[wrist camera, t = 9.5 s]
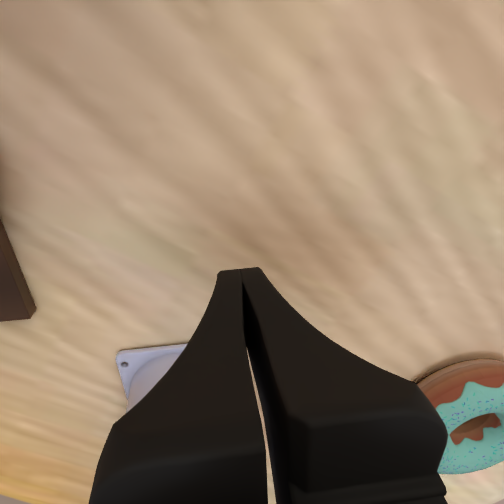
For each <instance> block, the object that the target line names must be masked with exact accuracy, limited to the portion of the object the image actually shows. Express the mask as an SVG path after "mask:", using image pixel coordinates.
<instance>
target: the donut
mask: <svg viewBox="0 0 504 504" xmlns="http://www.w3.org/2000/svg"><path fill="white" fill-rule="evenodd" d="M417 385H418V387H419V388H420V389H421V391H422V392H423V393H424V394H425V396H426V397H427V398H428V399H429V401H430V402H431V403H432V405H433V406H434V408H435V409H436V411H437V412H438V414H439V415H440V417H441V419H442V420H443V422H444V424H445V425H446V429H447V432H448V439H447V445H446V448H445V451H444V454H443V456H442V459H441V462H440V465H439V468H438V471H437V472H438V473H439V474H463V473H470V472H474V471H478V470H482V469H486V468H488V467H491V466H493V465H495V464H497V463H499V462H501V461H504V362H503V361H498V360H493V359H475V360H468V361H463V362H460V363H456V364H453V365H450V366H448V367H445V368H443V369H440V370H438V371H437V372H435V373H433V374H431V375H429V376H428V377H426V378H425V379H424V380H422V381H421V382H420V383H418V384H417Z"/></svg>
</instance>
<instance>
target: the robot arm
mask: <svg viewBox="0 0 504 504" xmlns="http://www.w3.org/2000/svg"><path fill="white" fill-rule="evenodd" d="M247 350H248V354H249V358H250V362H251V366H252V370H253V374H254V378H255V382H256V386H257V390H258V394H259V398H260V402H261V406H262V411H263V416H264V421H265V428H266V435H267V441H268V448H269V455H270V462H271V469H272V476H273V482H274V489H275V497H276V504H447V502H446V500H445V498H444V496H445V495H446V492H447V491H446V487H445V485H444V483H443V481H442V480H441V478H440V476H439V474H438V472H437V471H438V468H439V465H440V462H441V459H442V456H443V454H444V451H445V448H446V445H447V439H448V432H447V429H446V425H445V424H444V422H443V420H442V419H441V417H440V415H439V414H438V412H437V411H436V409H435V408H434V406H433V405H432V403H431V402H430V401H429V399H428V398H427V397H426V396H425V394H424V393H423V392H422V391H421V389H420V388H419V387H418V385H417V384H416V383H413V382H411V381H409V380H406V379H404V378H402V377H399V376H397V375H395V374H392V373H390V372H388V371H385V370H383V369H381V368H379V367H377V366H375V365H373V364H371V363H369V362H367V361H365V360H363V359H361V358H360V357H358V356H356V355H354V354H353V353H351V352H349V351H348V350H346V349H345V348H343V347H341V346H340V345H338V344H337V343H335V342H333V341H332V340H330V339H329V338H328V337H326V336H325V335H324V334H322V333H321V332H320V331H318V330H317V329H316V328H315V327H313V326H312V325H311V324H310V323H309V322H308V321H307V320H305V319H304V318H303V317H302V316H301V315H300V314H299V313H298V312H297V311H296V310H295V309H294V308H293V307H292V306H291V305H290V304H289V303H288V302H287V301H286V300H285V299H284V298H283V297H282V295H281V294H280V293H279V292H278V291H277V290H276V289H275V287H274V286H273V285H272V284H271V282H270V281H269V280H268V278H267V277H266V276H265V274H264V273H263V271H262V270H261V269H260V268H259V267H254V268H244V269H234V270H224V271H220V272H219V273H218V274H217V281H216V285H215V288H214V291H213V294H212V297H211V299H210V302H209V304H208V307H207V309H206V311H205V314H204V315H203V317H202V319H201V321H200V323H199V325H198V327H197V329H196V331H195V333H194V334H193V336H192V338H191V339H190V341H189V342H188V343H187V344H178V345H169V346H159V347H150V348H141V349H131V350H122V351H119V352H118V353H117V354H116V363H117V366H118V369H119V373H120V376H121V380H122V383H123V386H124V390H125V393H126V397H127V400H128V402H127V408H126V413H125V415H124V416H123V417H122V418H120V419H119V420H118V421H117V422H116V423H114V424H113V426H112V429H111V431H110V433H109V435H108V438H107V440H106V443H105V445H104V448H103V451H102V453H101V456H100V459H99V462H98V465H97V469H96V473H95V477H94V482H93V486H92V491H91V495H90V500H89V504H268V494H267V469H266V449H265V442H264V435H263V429H262V423H261V418H260V414H259V409H258V405H257V400H256V396H255V391H254V386H253V381H252V376H251V371H250V366H249V360H248V355H247ZM123 362H127V363H123Z"/></svg>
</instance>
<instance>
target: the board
mask: <svg viewBox="0 0 504 504" xmlns="http://www.w3.org/2000/svg"><path fill="white" fill-rule="evenodd" d="M35 310H36V307H35V304H34V302H33V299H32V297H31V294H30V292H29V289H28V287H27V284H26V282H25V279H24V277H23V274H22V272H21V269H20V267H19V264H18V262H17V259H16V257H15V254H14V252H13V249H12V247H11V244H10V242H9V239H8V237H7V234H6V232H5V229H4V227H3V224H2V222H1V219H0V322H2V321H12V320H22V319H30V318H31V317H32V315H33V313H34V312H35Z"/></svg>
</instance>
